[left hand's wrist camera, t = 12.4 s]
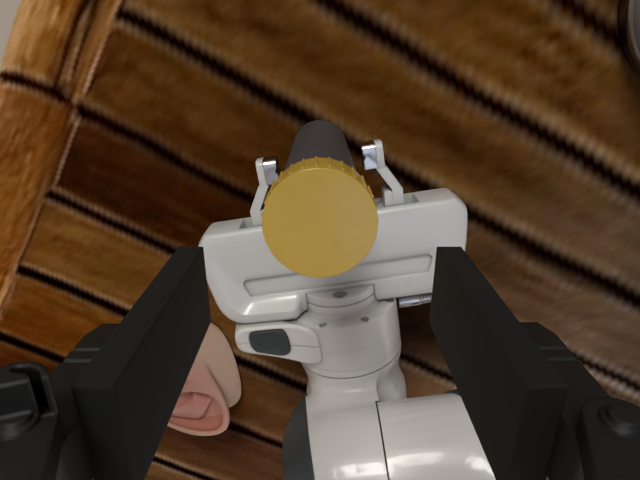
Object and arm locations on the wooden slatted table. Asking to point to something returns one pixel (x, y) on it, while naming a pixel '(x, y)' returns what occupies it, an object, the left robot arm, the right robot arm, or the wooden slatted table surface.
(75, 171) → the wooden slatted table surface
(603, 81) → the wooden slatted table surface
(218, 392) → the anatomical model
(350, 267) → the lid
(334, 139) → the dark grey slim bottle
